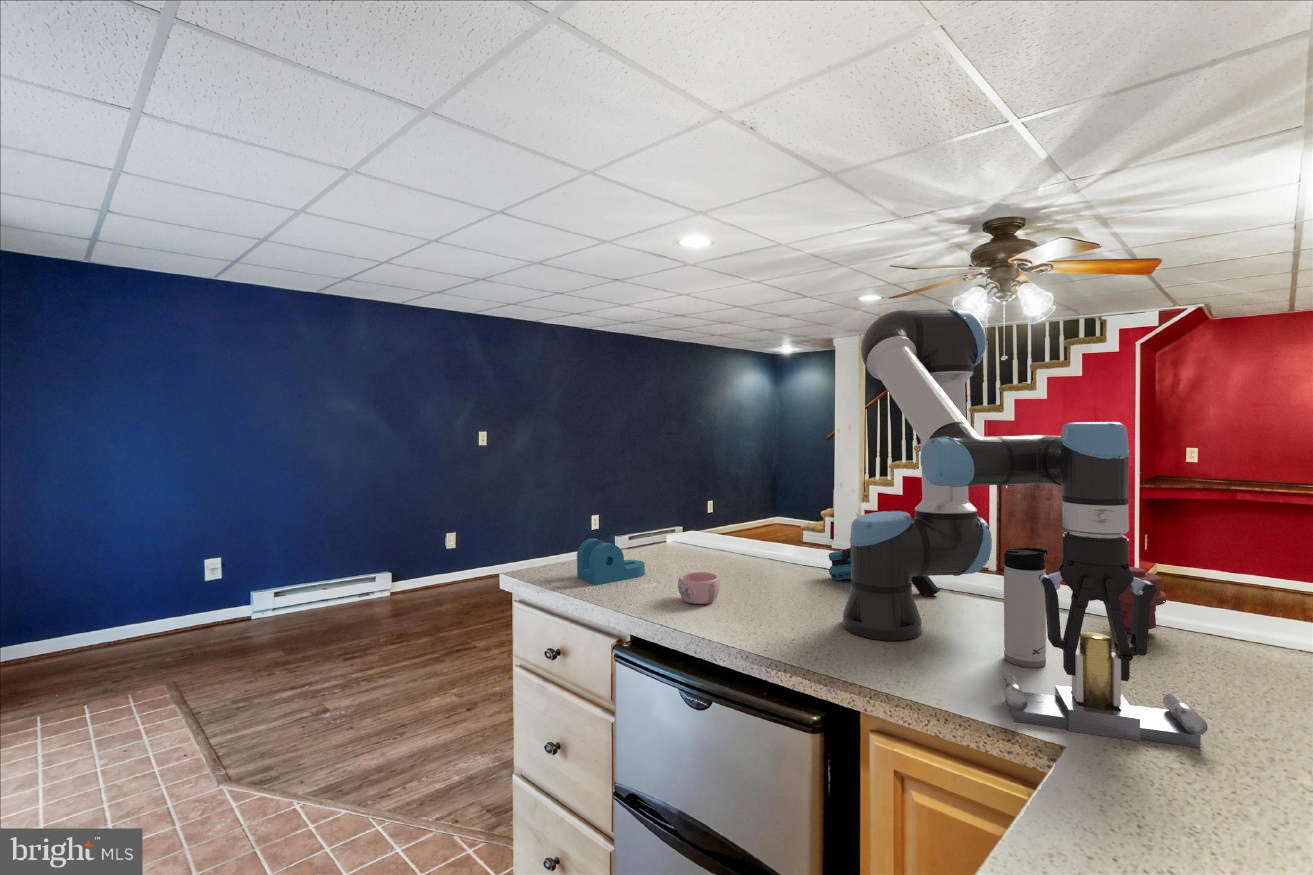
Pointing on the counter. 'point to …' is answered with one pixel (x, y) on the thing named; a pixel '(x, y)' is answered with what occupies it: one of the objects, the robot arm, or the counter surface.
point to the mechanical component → (1127, 595)
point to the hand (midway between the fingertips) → (1096, 699)
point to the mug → (698, 587)
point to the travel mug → (1024, 607)
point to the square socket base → (1106, 716)
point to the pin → (1096, 670)
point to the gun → (843, 571)
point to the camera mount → (605, 563)
